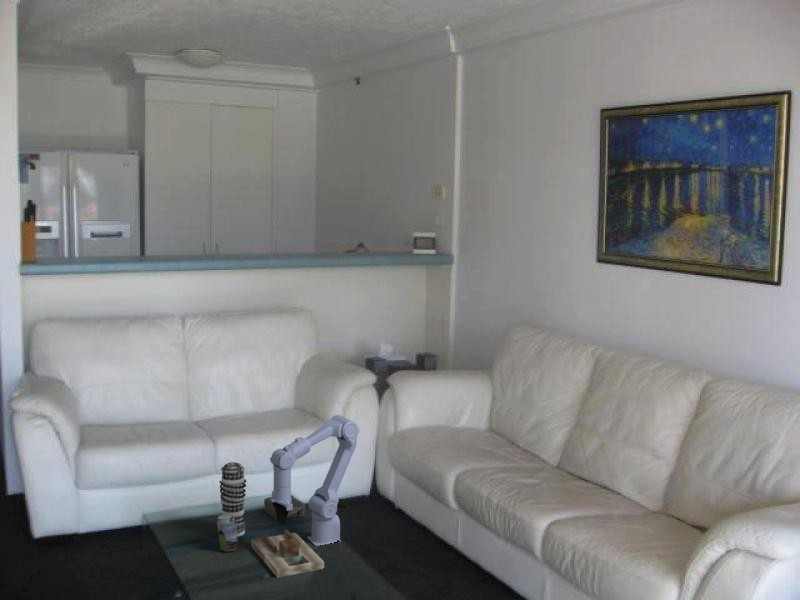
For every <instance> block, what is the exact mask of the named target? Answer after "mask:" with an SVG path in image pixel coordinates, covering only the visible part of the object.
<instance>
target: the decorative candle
mask: <svg viewBox="0 0 800 600" xmlns="http://www.w3.org/2000/svg"><path fill="white" fill-rule="evenodd" d="M220 471H221V480H219V483H220V484H219V489H220V490H219V492H220V496H219V497H220V503H221V504H222V505H221V506H222V507H221V513H220V516H221V515H224V514H232V515H233V517H234V518H235V524H236V531H237V538H238V537H241V536H244V535H245V533H246V522H245V520H246V513H245V505H244V504H245V502H246V499H245V497H246V491H247V490H246V487H247V484H246V483H247V479H245V474H244V472H245V467H244V466H243V465H242V464H241V463H239V462H232V461H231V462H227V463H225V464H224V466H222V467H221V468H220Z"/></svg>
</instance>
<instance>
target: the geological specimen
mask: <svg viewBox="0 0 800 600" xmlns="http://www.w3.org/2000/svg"><path fill="white" fill-rule="evenodd" d="M270 498H273V497H272V496H271V497H266V498H264V500H263V503H264V504H263V505H264V509H263V511H264V512H266V514H268V515H269V516H270V517H271V518H273V519H274V520H275V521H276V522H277V523H278V520H277V515H276V512H275V509H274V507H273V505H272V503H274V502H271V501H270ZM291 503H292V504H293V510H290V511H289V513H288V516H287V520H288V519H290V518H292V517H293V518H294V517H295V518H296V517H301V516H304V517H305V511H306V510H305V509H306V505H305V504H304V503H303V502H301V501H300V500H299V499H298V498H296V497H294V495H291Z"/></svg>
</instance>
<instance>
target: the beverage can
mask: <svg viewBox="0 0 800 600" xmlns="http://www.w3.org/2000/svg"><path fill="white" fill-rule="evenodd" d="M216 526H217V533H218V538H219V546H220V550H222V551H224V552H232V551H235V550H237V548H238V547H239V540H238V537H237V531H236V524H235V518H234V517H233V515H232V514H224V515H221V514H220V515H219V516H218V517H217V520H216Z"/></svg>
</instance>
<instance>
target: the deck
mask: <svg viewBox="0 0 800 600" xmlns="http://www.w3.org/2000/svg"><path fill="white" fill-rule="evenodd" d="M260 536H261V538H260V537H259V538H255V539H251V541H250V543H251V545H250V547H251V548H252V550H254V552H255V553H256V554H257V555H258V556H259V557H260V560H262V561H263V562H264V564H265V565H266V566H267V567H268V568H269V570H270V571H271V572H272V573H273V574H274V575H275V577H276V578H277V579H278V578H283V577H287V576H288V577H289V576H293V575H298V574H305V573H309V572H314V571H320V569H321V570H324V569H325V561H324V560H323V559H322V558H321V557H320V556H319V555H318V553H316V552H315V551H314V550H313V549H312V548H311V547H310V545H308V544H307V543H306V541H304V540H303V539H302V538H301V536H299V534H297V532H292V533H291V532H290V531H289V530H288V529H284V530H283V534H279V535H273V536H268V535H267V534H266V533H261V535H260ZM288 539H295V540H296V541H297V542H298V543H299V556H294V557H289V558H284V557H283V556H282V555H281V554H280V552H279V541H282V540H288ZM323 568H324V569H323Z"/></svg>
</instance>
